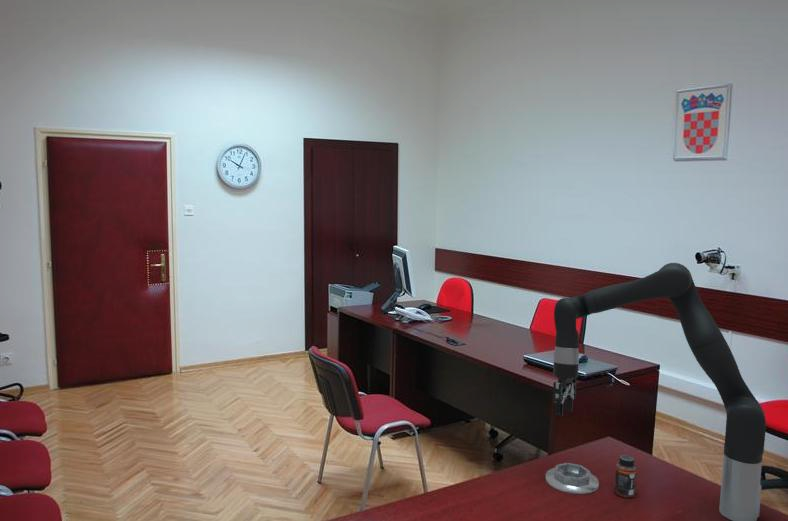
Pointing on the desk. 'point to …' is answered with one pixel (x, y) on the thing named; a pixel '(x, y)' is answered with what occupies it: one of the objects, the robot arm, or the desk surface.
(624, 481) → the supplement bottle
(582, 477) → the steel collar
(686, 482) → the desk surface
